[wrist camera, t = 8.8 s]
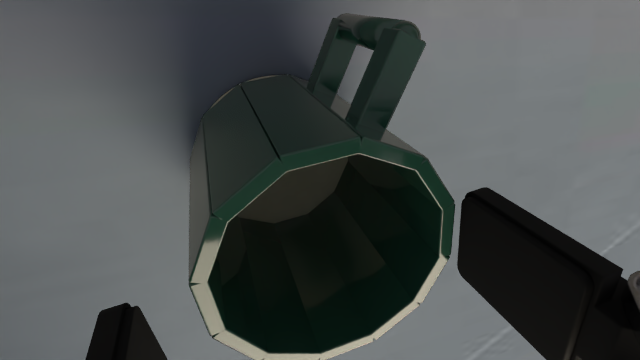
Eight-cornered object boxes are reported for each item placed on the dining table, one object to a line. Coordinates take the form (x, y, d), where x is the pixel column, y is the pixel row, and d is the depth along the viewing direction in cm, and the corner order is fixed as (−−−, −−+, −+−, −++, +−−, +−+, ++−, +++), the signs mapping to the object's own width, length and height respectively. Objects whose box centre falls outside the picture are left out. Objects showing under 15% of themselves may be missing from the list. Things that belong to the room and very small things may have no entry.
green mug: (317, 232, 19) (386, 362, 12) (174, 207, 16) (161, 364, 9) (400, 46, 16) (556, 84, 9) (242, -32, 13) (299, -60, 6)
